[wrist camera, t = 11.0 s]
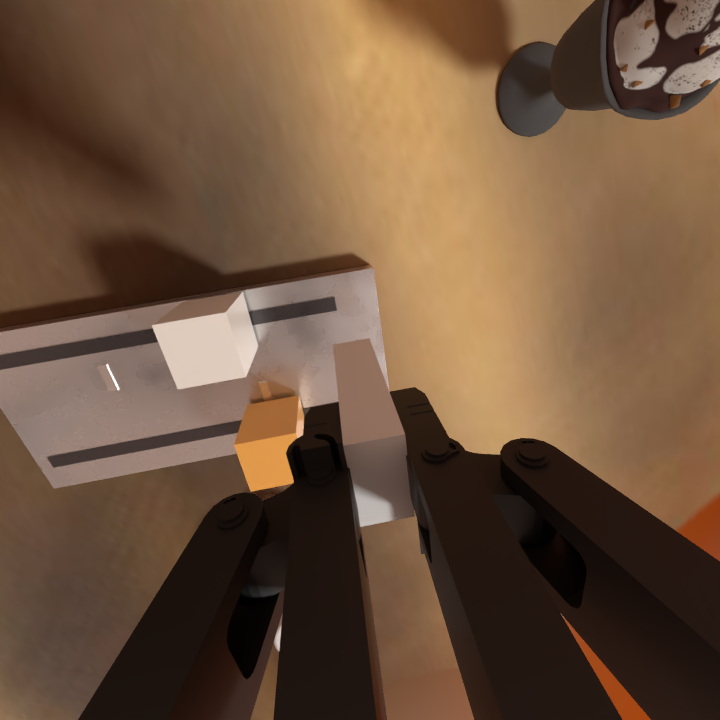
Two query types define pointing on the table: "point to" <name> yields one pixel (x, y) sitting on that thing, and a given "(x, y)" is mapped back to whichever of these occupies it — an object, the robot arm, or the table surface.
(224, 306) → the block
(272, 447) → the fader
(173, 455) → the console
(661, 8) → the sundae
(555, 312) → the table surface
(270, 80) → the table surface
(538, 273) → the table surface
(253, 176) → the table surface
